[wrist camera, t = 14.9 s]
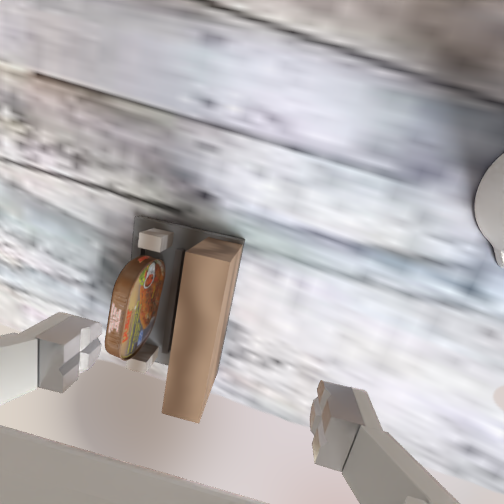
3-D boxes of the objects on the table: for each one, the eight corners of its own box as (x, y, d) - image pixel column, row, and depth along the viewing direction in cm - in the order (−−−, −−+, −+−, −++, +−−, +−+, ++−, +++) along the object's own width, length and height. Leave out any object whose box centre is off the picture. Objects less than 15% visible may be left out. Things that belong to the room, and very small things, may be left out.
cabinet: (244, 239, 38) (230, 257, 28) (217, 371, 44) (198, 426, 34) (140, 215, 39) (90, 225, 29) (127, 347, 45) (81, 394, 35)
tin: (151, 339, 42) (119, 375, 34) (132, 333, 42) (97, 367, 34) (170, 253, 38) (140, 270, 30) (150, 246, 38) (114, 262, 30)
